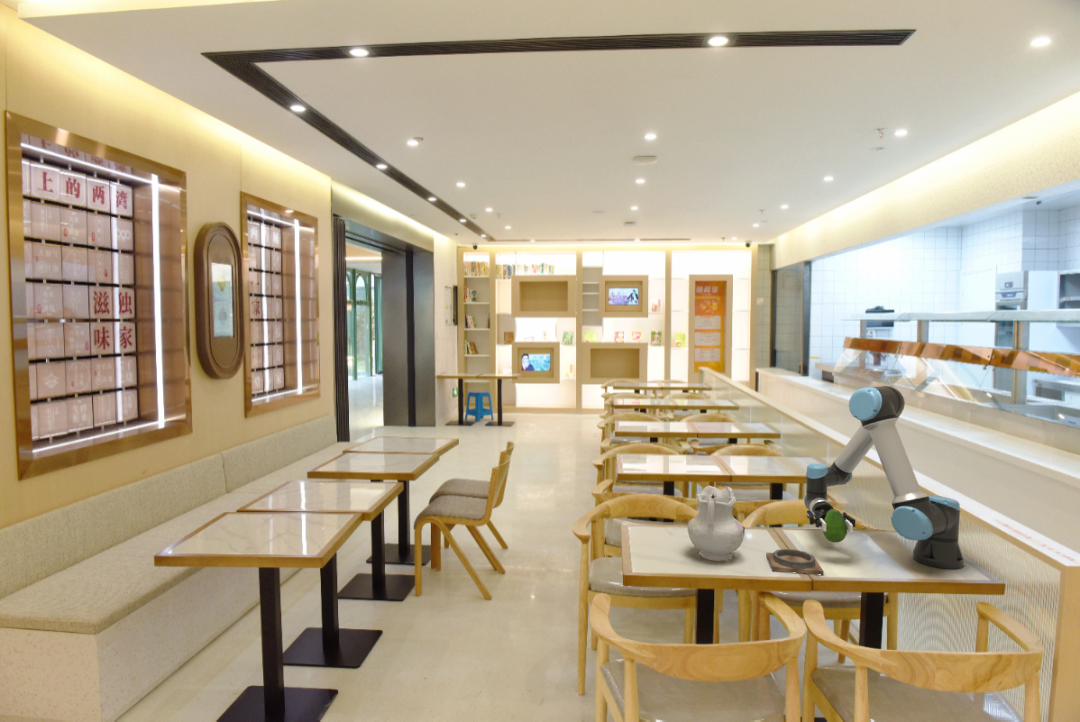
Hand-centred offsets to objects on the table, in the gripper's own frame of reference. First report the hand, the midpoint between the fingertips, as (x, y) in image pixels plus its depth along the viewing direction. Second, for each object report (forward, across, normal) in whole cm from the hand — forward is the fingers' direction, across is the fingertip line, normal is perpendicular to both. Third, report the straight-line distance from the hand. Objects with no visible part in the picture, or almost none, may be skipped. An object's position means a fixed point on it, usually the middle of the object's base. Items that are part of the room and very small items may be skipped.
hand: (838, 528), depth 214 cm
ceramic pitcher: (0, +41, -13) cm, 43 cm away
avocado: (-5, 0, -7) cm, 8 cm away
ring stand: (+3, +15, -13) cm, 20 cm away
